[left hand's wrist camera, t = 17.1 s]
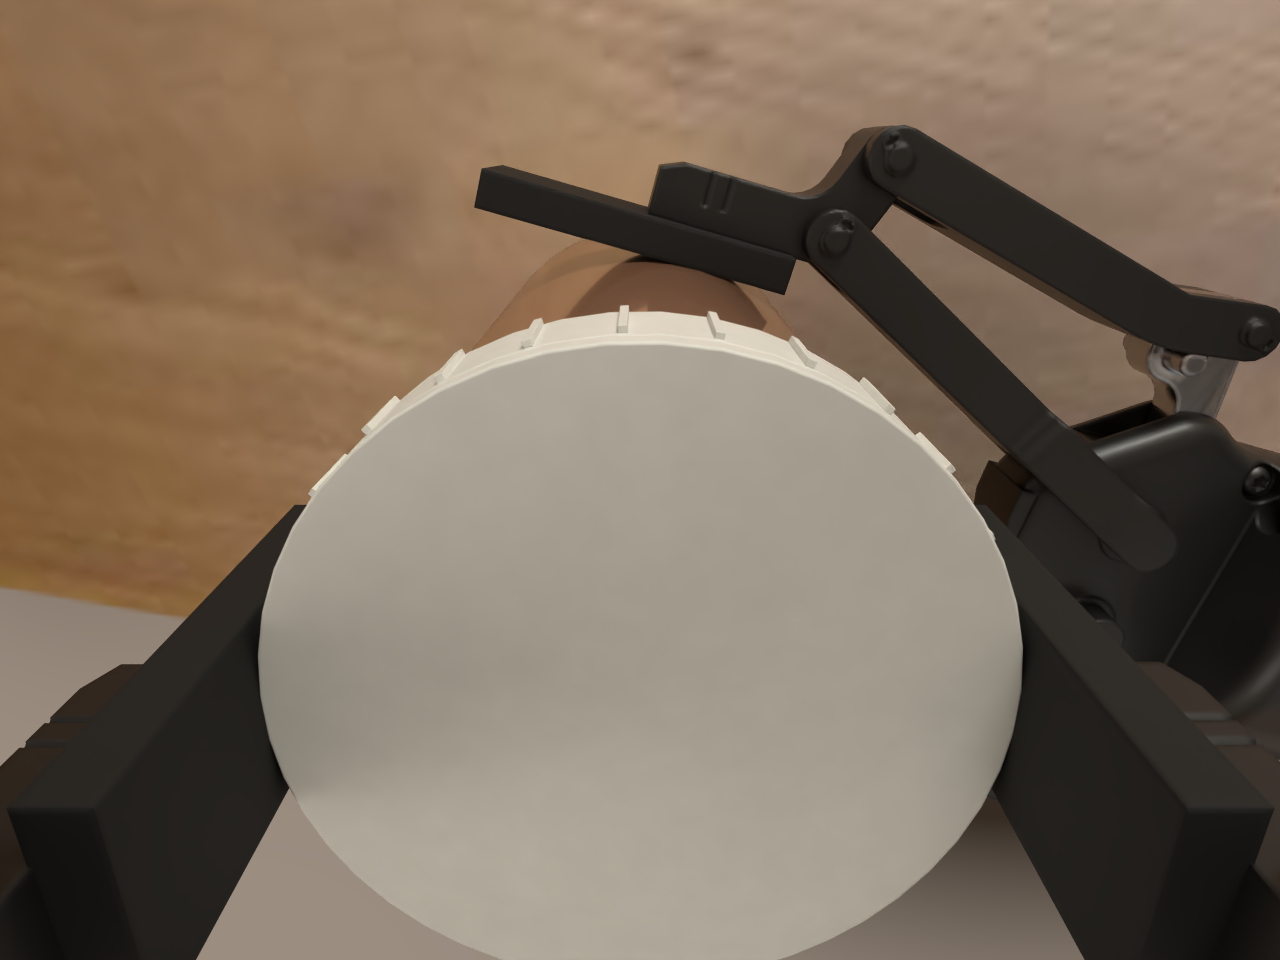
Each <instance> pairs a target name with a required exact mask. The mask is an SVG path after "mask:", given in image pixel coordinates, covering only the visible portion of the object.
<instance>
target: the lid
mask: <svg viewBox="0 0 1280 960" xmlns="http://www.w3.org/2000/svg"><path fill="white" fill-rule="evenodd" d="M895 410H896V409H895V408H894V407H893V406H892V405H891V404H890V403H889V402H888V401H887V400H886V398H885V397H884V396H883V395H882V394H881V393H880V392H879V391H878V390H877V389H876V388H875V387H874V386H873V385H872V384H871V383H870V382H869V381H868V380H867V379H865V378H864V377H863V378H862V379H861V381H860V382H857V381H856V380H855V379H854V378H852V377H851V376H850V375H849V374H847V373H846V372H845V371H843V370H841V369H839V368H838V367H836V366H834V365H832V364H831V363H829V362H827V361H825V360H824V359H822V358H820V357H818V356H817V355H815V354H813V353H812V352H810V351H808V350H807V349H806V347H805V346H804V345H803V344H802V342H801V341H800V340H799V339H798V338H796V337H793V336H791V337H790V339H789V341H785V340H783V339H780V338H778V337H775V336H773V335H770V334H768V333H765V332H763V331H760V330H757V329H754V328H750V327H746V326H742V325H738V324H734V323H730V322H726V321H722V320H720V319H719V317H718V315H717V313H716V312H711V311H708V314H707V317H702V316H694V315H685V314H677V313H669V312H629V305H622V306H620V311H619V312H608V313H601V314H595V315H588V316H581V317H574V318H567V319H560V320H557V321H553V322H550V323H546V324H544V323H543V320H542V318H539V319H535V320H533V322H532V324H531V325H530V327H529V329H525V330H522V331H518V332H515V333H512V334H509V335H507V336H505V337H503V338H500V339H498V340H496V341H493V342H491V343H489V344H487V345H484V346H482V347H480V348H477V349H475V350H473V351H470V352H468V353H467V354H465V353H464V351H463V350H462V349H461V350H459V351H457V352H455V353H454V355H453V356H452V357H451V358H450V359H449V360H448V361H447V362H446V364H445V365H444V366H443V367H442V368H441V369H440V370H439V371H437V372H436V373H434V374H432V375H431V376H429V377H428V378H426V379H425V380H424V381H423V382H422V383H420V384H419V385H418V386H417V387H416V388H414V389H413V390H412V391H411V392H410V393H408V394H407V395H406V396H405V397H404V398H402V399H401V400H399V399H398V398H397V397H396V396H394V397H393V398H392V399H391V400H390V401H389V402H388V403H387V404H386V405H385V406H384V407H383V408H382V409H381V410H380V411H379V412H378V413H377V414H376V415H375V416H374V417H373V418H372V419H371V420H370V421H369V422H368V423H367V424H366V425H365V426H364V427H363V428H362V431H363V432H364V433H365V434H366V436H365V437H364V438H363V439H362V440H361V441H360V442H359V443H358V444H357V445H356V446H355V447H354V448H353V449H352V450H351V452H350V453H349V454H348V455H346V454H344V455H343V456H342V457H341V458H340V459H339V460H338V461H337V463H336V464H335V465H334V466H333V467H332V468H331V469H330V470H329V471H328V472H327V473H326V474H325V475H324V476H323V477H322V478H321V479H320V480H319V481H318V483H317V484H316V485H315V486H314V487H313V488H312V489H311V491H310V492H309V494H308V495H309V496H311V497H312V498H311V499H310V501H309V503H308V504H307V506H306V507H305V509H304V510H303V512H302V513H301V515H300V516H299V518H298V519H297V521H296V522H295V524H294V525H293V527H292V529H291V531H290V534H289V536H288V538H287V540H286V543H285V545H284V547H283V549H282V552H281V554H280V556H279V558H278V560H277V563H276V565H275V567H274V570H273V573H272V577H271V581H270V585H269V588H268V592H267V596H266V600H265V603H264V607H263V611H262V619H261V629H260V639H259V649H258V667H259V684H260V697H261V702H262V707H263V712H264V717H265V722H266V727H267V732H268V736H269V740H270V743H271V745H272V748H273V751H274V753H275V756H276V758H277V761H278V764H279V766H280V769H281V772H282V774H283V777H284V779H285V781H286V783H287V784H288V786H289V788H290V790H291V792H292V793H293V795H294V797H295V799H296V801H297V802H298V804H299V806H300V808H301V810H302V812H303V813H304V815H305V816H306V817H307V819H308V820H309V821H310V823H311V824H312V826H313V827H314V828H315V830H316V831H317V832H318V834H319V835H320V836H321V838H322V839H323V840H324V842H325V843H326V844H327V846H328V847H329V848H330V849H331V850H332V851H333V852H334V853H335V854H336V855H337V856H338V857H339V858H340V859H341V861H342V862H343V863H344V864H345V865H346V866H347V867H348V868H349V869H350V870H351V871H352V872H353V873H354V874H355V875H356V876H357V877H358V878H359V879H360V880H362V881H363V882H364V883H365V884H367V885H368V886H369V887H370V888H371V889H373V890H374V891H375V892H376V893H377V894H379V895H380V896H381V897H382V898H384V899H385V900H386V901H387V902H388V903H390V904H391V905H393V906H395V907H396V908H398V909H399V910H401V911H402V912H404V913H405V914H407V915H408V916H410V917H411V918H413V919H414V920H416V921H418V922H419V923H421V924H422V925H424V926H426V927H428V928H430V929H432V930H434V931H436V932H438V933H440V934H442V935H443V936H445V937H447V938H449V939H451V940H453V941H455V942H457V943H459V944H461V945H464V946H467V947H469V948H472V949H474V950H477V951H480V952H482V953H485V954H487V955H490V956H492V957H495V958H498V959H501V960H780V959H783V958H786V957H789V956H792V955H794V954H797V953H799V952H802V951H804V950H806V949H809V948H811V947H814V946H816V945H819V944H821V943H824V942H826V941H828V940H830V939H832V938H834V937H836V936H838V935H840V934H842V933H843V932H845V931H847V930H849V929H851V928H853V927H855V926H856V925H858V924H860V923H862V922H864V921H866V920H867V919H868V918H870V917H871V916H873V915H874V914H876V913H877V912H879V911H880V910H882V909H883V908H885V907H886V906H888V905H889V904H890V903H892V902H893V901H895V900H896V899H898V898H899V897H900V896H902V895H903V894H904V893H905V892H906V891H907V890H909V889H910V888H911V887H912V886H913V885H914V884H916V883H917V882H918V881H919V880H920V879H921V878H922V877H924V876H925V875H926V874H927V873H928V872H929V871H931V869H932V868H933V867H934V866H935V865H936V864H937V863H938V862H939V861H940V860H941V858H942V857H943V856H944V855H945V854H946V853H947V852H948V851H949V850H950V849H951V848H952V846H953V845H954V844H955V843H956V842H957V841H958V840H959V838H960V837H961V835H962V834H963V833H964V831H965V830H966V828H967V827H968V825H969V824H970V823H971V821H972V820H973V818H974V817H975V816H976V814H977V813H978V811H979V810H980V808H981V807H982V805H983V803H984V801H985V799H986V797H987V795H988V793H989V792H990V790H991V788H992V786H993V784H994V782H995V780H996V778H997V776H998V774H999V772H1000V770H1001V767H1002V764H1003V762H1004V759H1005V756H1006V753H1007V750H1008V747H1009V744H1010V741H1011V739H1012V736H1013V731H1014V726H1015V721H1016V716H1017V711H1018V706H1019V701H1020V696H1021V691H1022V659H1023V645H1022V637H1021V629H1020V622H1019V614H1018V607H1017V602H1016V598H1015V595H1014V592H1013V588H1012V585H1011V582H1010V578H1009V575H1008V572H1007V568H1006V565H1005V562H1004V559H1003V557H1002V555H1001V553H1000V551H999V549H998V547H997V545H996V543H995V541H994V540H995V537H994V534H993V533H992V532H991V530H990V529H989V528H988V526H987V524H986V522H985V520H984V518H983V517H982V516H981V514H980V513H979V511H978V510H977V508H976V507H975V506H974V504H973V503H972V501H971V500H970V498H969V497H968V496H967V494H966V493H965V491H964V490H963V488H962V487H961V486H960V484H959V483H958V481H957V480H956V479H955V478H954V476H953V475H952V473H953V472H955V471H956V469H955V468H954V467H953V466H952V464H951V463H950V462H949V461H948V460H947V459H946V458H945V457H944V456H943V455H942V454H941V453H940V452H939V451H938V450H937V449H936V448H935V447H934V446H933V445H932V444H931V443H930V442H929V441H928V439H927V438H926V437H925V436H924V435H923V434H922V433H921V432H919V433H918V434H916V435H914V434H913V433H912V432H911V431H910V430H909V429H908V428H907V426H906V425H905V424H904V423H903V422H902V421H901V420H900V419H899V418H898V417H897V416H896V415H895V414H894V413H893V412H894V411H895Z"/></svg>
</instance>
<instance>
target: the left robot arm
mask: <svg viewBox="0 0 1280 960" xmlns="http://www.w3.org/2000/svg"><path fill="white" fill-rule="evenodd" d="M306 506H307V505H294V506H293V507H292V509H291V510H290V511H289V512H288V513H287V514H286V515H285V516H284V517H283V518H282V519H281V520H280V521H279V522H278V523H277V524H276V525H275V526H274V527H273V528H272V530H271V531H270V532H269V533H268V534H267V535H266V536H265V537H264V538H263V539H262V540H261V541H260V542H259V543H258V544H257V545H256V546H255V547H254V548H253V549H252V551H251V552H250V553H249V554H248V555H247V556H246V557H245V558H244V559H243V560H242V561H241V562H240V563H239V564H238V565H237V566H236V567H235V568H234V569H233V570H232V572H231V573H230V574H229V575H228V576H227V577H226V578H225V579H224V580H223V581H222V582H221V583H220V584H219V585H218V586H217V587H216V588H215V589H214V590H213V591H212V593H211V594H210V595H209V596H208V597H207V598H206V599H205V600H204V601H203V602H202V603H201V604H200V605H199V606H198V607H197V608H196V609H195V610H194V611H193V612H192V614H191V615H190V616H189V617H188V618H187V619H186V620H185V621H184V622H183V623H182V624H181V625H180V626H179V627H178V628H177V629H176V630H175V631H174V632H173V634H172V635H171V636H170V637H169V638H168V639H167V640H166V641H165V642H164V643H163V644H162V645H161V646H160V647H159V648H158V649H157V650H156V651H155V652H154V653H153V654H152V656H151V657H150V658H149V659H148V660H147V661H146V662H145V663H144V664H121V665H119V666H118V667H116V668H114V669H113V670H111V671H109V672H107V673H106V674H104V675H102V676H101V677H99V678H97V679H96V680H94V681H92V682H91V683H89V684H87V685H86V686H84V687H82V688H80V689H79V690H78V691H77V692H76V693H75V694H74V695H73V696H72V697H71V698H70V699H69V700H68V701H67V702H66V703H65V704H64V705H63V706H62V707H61V708H60V709H59V710H58V711H57V712H56V713H55V714H54V715H53V716H51V718H50V719H51V720H50V723H44V724H43V725H42V726H41V727H40V728H39V729H38V730H37V731H36V732H35V733H34V734H33V735H32V736H31V737H30V738H29V739H28V740H27V741H26V746H25V748H19V749H18V750H17V751H16V752H15V753H14V754H13V755H12V756H10V757H9V758H8V759H7V760H6V761H5V762H4V763H3V764H2V765H1V766H0V960H196V959H197V957H198V955H199V953H200V951H201V949H202V948H203V946H204V944H205V942H206V940H207V938H208V937H209V935H210V933H211V931H212V929H213V927H214V926H215V924H216V922H217V920H218V918H219V916H220V914H221V912H222V911H223V909H224V907H225V905H226V903H227V902H228V900H229V898H230V896H231V894H232V892H233V891H234V889H235V887H236V885H237V883H238V881H239V880H240V878H241V876H242V874H243V872H244V870H245V868H246V867H247V865H248V863H249V861H250V859H251V857H252V855H253V854H254V852H255V850H256V848H257V846H258V844H259V843H260V841H261V839H262V837H263V835H264V833H265V832H266V830H267V828H268V826H269V824H270V822H271V821H272V819H273V817H274V815H275V813H276V811H277V810H278V808H279V806H280V804H281V802H282V800H283V799H284V797H285V795H286V793H287V791H288V789H289V786H288V784H287V783H286V781H285V779H284V777H283V774H282V772H281V769H280V766H279V764H278V761H277V758H276V756H275V753H274V751H273V748H272V745H271V743H270V740H269V736H268V732H267V727H266V722H265V717H264V712H263V707H262V702H261V697H260V684H259V667H258V649H259V639H260V629H261V619H262V611H263V607H264V603H265V600H266V596H267V592H268V588H269V585H270V581H271V577H272V573H273V570H274V567H275V565H276V563H277V560H278V558H279V556H280V554H281V552H282V549H283V547H284V545H285V543H286V540H287V538H288V536H289V534H290V531H291V529H292V527H293V525H294V524H295V522H296V521H297V519H298V518H299V516H300V515H301V513H302V512H303V510H304V509H305V507H306ZM974 506H975V507H976V508H977V510H978V511H979V513H980V514H981V516H982V517H983V518H984V520H985V522H986V524H987V526H988V528H989V529H990V530H991V532H992V533H993V534H994V537H995V540H994V541H995V543H996V545H997V547H998V549H999V551H1000V553H1001V555H1002V557H1003V559H1004V562H1005V565H1006V568H1007V572H1008V575H1009V578H1010V582H1011V585H1012V588H1013V592H1014V595H1015V598H1016V602H1017V607H1018V614H1019V622H1020V629H1021V637H1022V645H1023V659H1022V691H1021V696H1020V701H1019V706H1018V711H1017V716H1016V721H1015V726H1014V731H1013V736H1012V739H1011V741H1010V744H1009V747H1008V750H1007V753H1006V756H1005V759H1004V762H1003V764H1002V767H1001V770H1000V772H999V774H998V776H997V778H996V780H995V782H994V784H993V786H992V790H993V792H994V794H995V796H996V797H997V799H998V801H999V803H1000V805H1001V807H1002V808H1003V810H1004V812H1005V814H1006V816H1007V818H1008V819H1009V821H1010V823H1011V825H1012V827H1013V829H1014V830H1015V832H1016V834H1017V836H1018V838H1019V840H1020V842H1021V843H1022V845H1023V847H1024V849H1025V851H1026V853H1027V854H1028V856H1029V858H1030V860H1031V862H1032V864H1033V866H1034V867H1035V869H1036V871H1037V873H1038V875H1039V877H1040V878H1041V880H1042V882H1043V884H1044V886H1045V888H1046V889H1047V891H1048V893H1049V895H1050V897H1051V899H1052V901H1053V902H1054V904H1055V906H1056V908H1057V910H1058V911H1059V913H1060V915H1061V917H1062V919H1063V921H1064V923H1065V924H1066V926H1067V928H1068V930H1069V932H1070V934H1071V935H1072V937H1073V939H1074V941H1075V943H1076V945H1077V946H1078V948H1079V950H1080V952H1081V954H1082V956H1083V958H1084V959H1085V960H1280V761H1279V760H1278V759H1276V758H1275V757H1274V756H1273V755H1272V754H1271V753H1270V752H1269V751H1268V750H1267V749H1266V748H1265V747H1264V746H1263V745H1257V743H1256V738H1255V737H1254V736H1253V735H1252V734H1251V733H1250V732H1249V731H1248V730H1247V729H1246V728H1244V727H1243V726H1242V725H1241V724H1240V723H1239V722H1238V721H1237V720H1232V718H1231V714H1230V713H1229V712H1228V711H1227V710H1226V709H1225V708H1224V707H1223V706H1222V705H1221V704H1220V703H1219V702H1218V701H1217V700H1216V699H1215V698H1214V697H1212V696H1211V695H1210V694H1209V693H1208V692H1207V691H1206V690H1205V689H1204V688H1203V687H1202V686H1201V685H1199V684H1197V683H1196V682H1194V681H1192V680H1191V679H1189V678H1187V677H1185V676H1184V675H1182V674H1180V673H1179V672H1177V671H1175V670H1174V669H1172V668H1170V667H1168V666H1167V665H1165V664H1163V663H1162V662H1135V661H1134V660H1133V659H1132V658H1131V657H1130V656H1129V655H1128V654H1127V653H1126V652H1125V651H1124V650H1123V649H1122V647H1121V646H1120V645H1119V644H1118V643H1117V642H1116V641H1115V640H1114V639H1113V638H1112V637H1111V636H1110V635H1109V634H1108V633H1107V632H1106V631H1105V630H1104V629H1103V628H1102V626H1101V625H1100V624H1099V623H1098V622H1097V621H1096V620H1095V619H1094V618H1093V617H1092V616H1091V615H1090V614H1089V613H1088V612H1087V611H1086V610H1085V609H1084V608H1083V607H1082V606H1081V604H1080V603H1079V602H1078V601H1077V600H1076V599H1075V598H1074V597H1073V596H1072V595H1071V594H1070V593H1069V592H1068V591H1067V590H1066V589H1065V588H1064V587H1063V586H1062V585H1061V583H1060V582H1059V581H1058V580H1057V579H1056V578H1055V577H1054V576H1053V575H1052V574H1051V573H1050V572H1049V571H1048V570H1047V569H1046V568H1045V567H1044V566H1043V565H1042V564H1041V562H1040V561H1039V560H1038V559H1037V558H1036V557H1035V556H1034V555H1033V554H1032V553H1031V552H1030V551H1029V550H1028V549H1027V548H1026V547H1025V546H1024V545H1023V544H1022V543H1021V541H1020V540H1019V539H1018V538H1017V537H1016V536H1015V535H1014V534H1013V533H1012V532H1011V531H1010V530H1009V529H1008V528H1007V527H1006V526H1005V525H1004V524H1003V523H1002V522H1001V520H1000V519H999V518H998V517H997V516H996V515H995V514H994V513H993V512H992V511H991V510H990V509H989V508H988V507H987V506H986V505H974Z"/></svg>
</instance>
